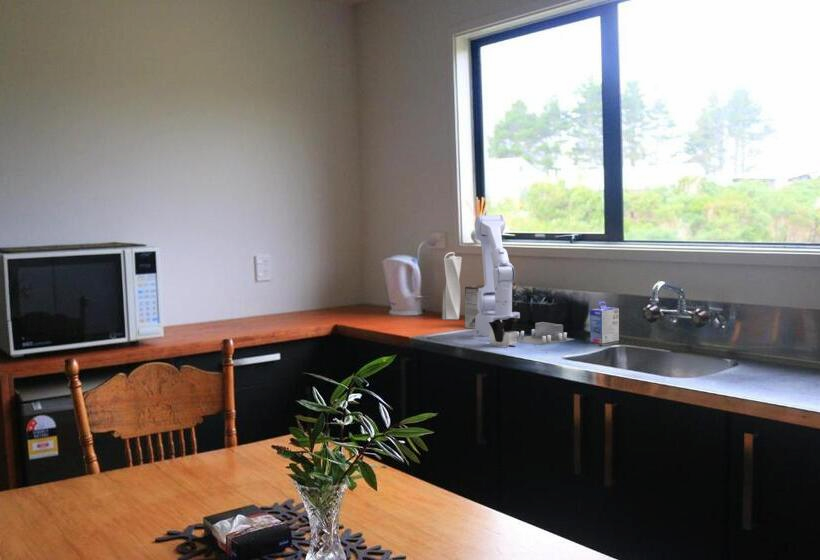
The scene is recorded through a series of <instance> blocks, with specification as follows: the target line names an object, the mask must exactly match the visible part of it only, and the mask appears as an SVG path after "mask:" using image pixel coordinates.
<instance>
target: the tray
mask: <svg viewBox="0 0 820 560" xmlns="http://www.w3.org/2000/svg"><path fill="white" fill-rule="evenodd" d="M567 335H568V332H564V331H563V339H562V333H558V340H551V335H547V339H546V336H542V338H537V337H535V328H532V329H531V335H528V336H525V331H524V330H521V331H520V332H519V331H517V343H518V342H520V343H525V344H532V345H537V346H546V345H552V344H557V343H562V342H567V341H575V340H576V339H575V338H570V337H567Z"/></svg>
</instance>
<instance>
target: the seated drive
mask: <svg viewBox="0 0 820 560" xmlns="http://www.w3.org/2000/svg"><path fill="white" fill-rule="evenodd" d="M534 327H535V328H534V329H535V337H537V338H542V336H546V339H547V335H551V340H558V333H562V339H563V333H564V325H563V324H561V323H559V324H558V323H552V322H544V321H541V322H535V325H534Z"/></svg>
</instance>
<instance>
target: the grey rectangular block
mask: <svg viewBox="0 0 820 560" xmlns="http://www.w3.org/2000/svg"><path fill="white" fill-rule="evenodd" d="M517 332H518V331H517V330H513V331H510V330H504V328H503V332H502V341H501V342H496V340H495V336H494V333H493V330H492V329H491V330H490V337H489V339H488V340H489V341H488V342H489V343H488V344H489V345H492V344H493V345H492V346H497V345H499V346H498V347H503V346H506V347H505V348H508V347H510V348H514V347H513V346H514V345H515V344H518V341H517Z"/></svg>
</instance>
